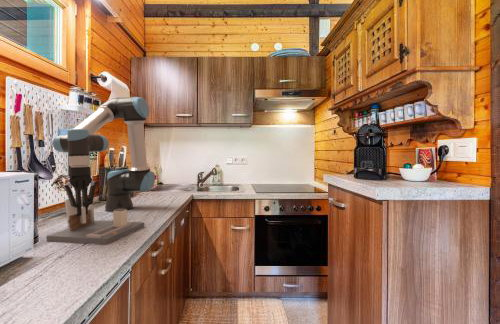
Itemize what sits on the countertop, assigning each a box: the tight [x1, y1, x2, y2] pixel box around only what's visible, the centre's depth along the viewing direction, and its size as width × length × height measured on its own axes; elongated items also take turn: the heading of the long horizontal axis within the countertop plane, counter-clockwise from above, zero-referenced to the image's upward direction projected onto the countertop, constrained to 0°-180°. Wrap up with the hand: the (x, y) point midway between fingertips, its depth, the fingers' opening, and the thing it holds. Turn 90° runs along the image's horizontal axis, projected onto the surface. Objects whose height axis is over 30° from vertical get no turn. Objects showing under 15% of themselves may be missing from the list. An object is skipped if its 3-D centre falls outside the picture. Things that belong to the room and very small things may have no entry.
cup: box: [64, 197, 83, 228], centre depth 129 cm, size 8×8×12 cm
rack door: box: [67, 209, 91, 230], centre depth 117 cm, size 2×12×6 cm, turn 175°
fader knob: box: [112, 208, 128, 228], centre depth 117 cm, size 4×4×7 cm
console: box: [46, 204, 145, 245], centre depth 115 cm, size 24×26×10 cm
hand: (83, 222), depth 116 cm, fingers closed
